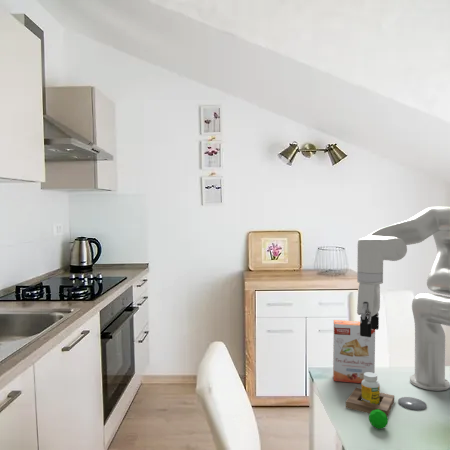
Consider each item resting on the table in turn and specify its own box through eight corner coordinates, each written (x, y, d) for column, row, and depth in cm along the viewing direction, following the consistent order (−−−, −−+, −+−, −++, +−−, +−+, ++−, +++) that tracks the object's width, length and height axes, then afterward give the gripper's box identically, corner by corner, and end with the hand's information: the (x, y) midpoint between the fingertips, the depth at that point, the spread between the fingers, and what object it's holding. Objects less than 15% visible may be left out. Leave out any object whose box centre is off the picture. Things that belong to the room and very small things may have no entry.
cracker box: (333, 382, 147) (333, 323, 147) (333, 375, 153) (333, 319, 152) (375, 385, 144) (375, 325, 143) (373, 378, 150) (373, 321, 149)
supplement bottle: (368, 399, 133) (368, 369, 133) (383, 405, 129) (383, 375, 129) (357, 403, 130) (357, 373, 130) (372, 410, 126) (372, 379, 126)
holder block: (355, 393, 138) (355, 387, 138) (394, 401, 132) (394, 395, 131) (345, 407, 128) (345, 401, 128) (386, 417, 121) (387, 410, 121)
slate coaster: (400, 396, 135) (400, 395, 135) (427, 402, 131) (427, 400, 131) (396, 406, 128) (396, 404, 128) (424, 412, 124) (424, 411, 124)
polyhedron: (388, 425, 117) (388, 408, 117) (387, 433, 113) (387, 416, 112) (369, 421, 119) (369, 405, 119) (367, 429, 115) (368, 412, 115)
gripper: (364, 273, 138) (364, 324, 138) (350, 280, 123) (349, 337, 124) (388, 275, 134) (387, 327, 134) (376, 282, 119) (375, 341, 120)
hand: (369, 332), depth 129 cm, fingers open, 9 cm apart
